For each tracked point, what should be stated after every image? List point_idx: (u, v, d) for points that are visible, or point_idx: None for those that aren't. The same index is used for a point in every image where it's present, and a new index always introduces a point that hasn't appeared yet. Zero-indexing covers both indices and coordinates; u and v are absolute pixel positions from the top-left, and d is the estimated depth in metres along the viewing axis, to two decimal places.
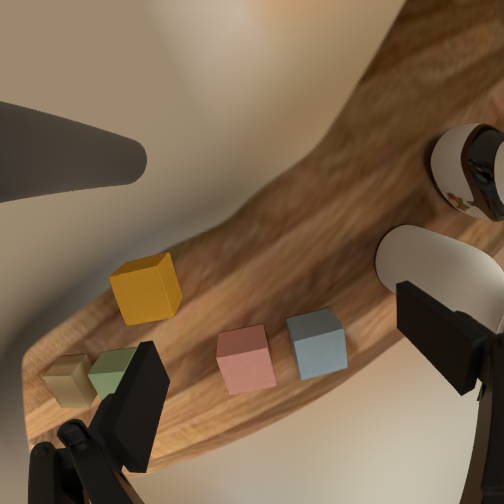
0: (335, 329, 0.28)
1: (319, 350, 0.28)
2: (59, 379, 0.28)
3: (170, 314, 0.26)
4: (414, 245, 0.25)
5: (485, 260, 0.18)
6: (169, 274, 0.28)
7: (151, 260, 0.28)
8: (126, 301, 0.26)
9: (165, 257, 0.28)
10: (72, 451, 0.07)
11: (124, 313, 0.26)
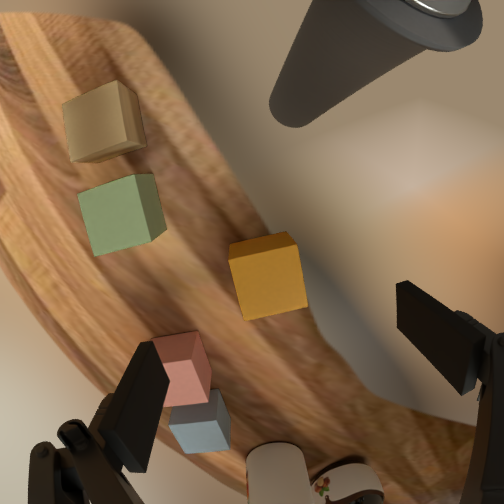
0: (228, 444, 0.26)
1: (206, 436, 0.26)
2: (116, 116, 0.18)
3: (247, 317, 0.23)
4: (304, 479, 0.27)
5: None
6: None
7: None
8: (265, 264, 0.22)
9: None
10: (72, 451, 0.07)
11: (247, 260, 0.21)
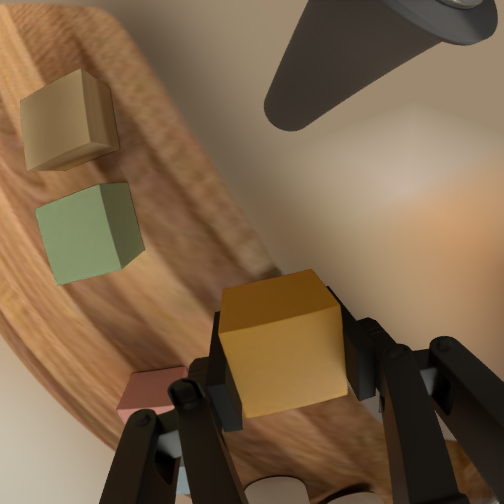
0: None
1: None
2: (78, 111, 0.14)
3: (252, 413, 0.13)
4: None
5: None
6: None
7: None
8: (283, 340, 0.12)
9: None
10: (178, 409, 0.09)
11: (252, 334, 0.12)
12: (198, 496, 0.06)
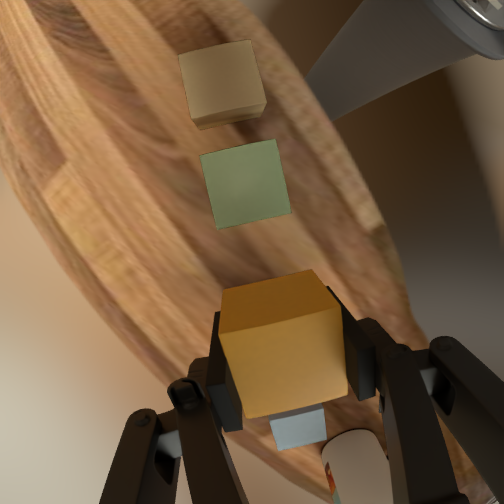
0: None
1: (307, 428, 0.25)
2: (252, 75, 0.17)
3: (252, 414, 0.13)
4: (387, 462, 0.26)
5: None
6: None
7: None
8: (283, 341, 0.12)
9: None
10: (178, 409, 0.09)
11: (252, 334, 0.12)
12: (198, 496, 0.06)
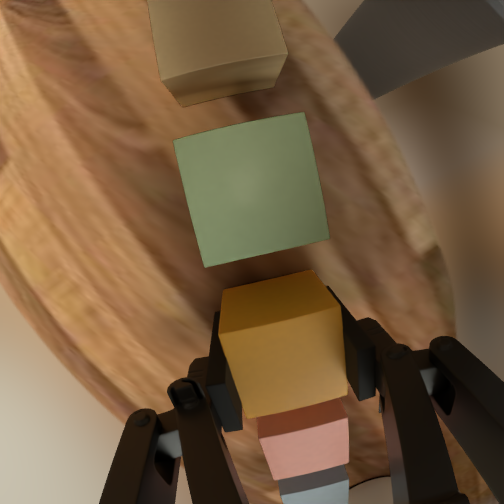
0: (348, 499, 0.17)
1: (326, 498, 0.17)
2: (264, 13, 0.09)
3: (252, 414, 0.13)
4: None
5: None
6: None
7: None
8: (283, 341, 0.12)
9: None
10: (178, 409, 0.09)
11: (252, 334, 0.12)
12: (198, 496, 0.06)
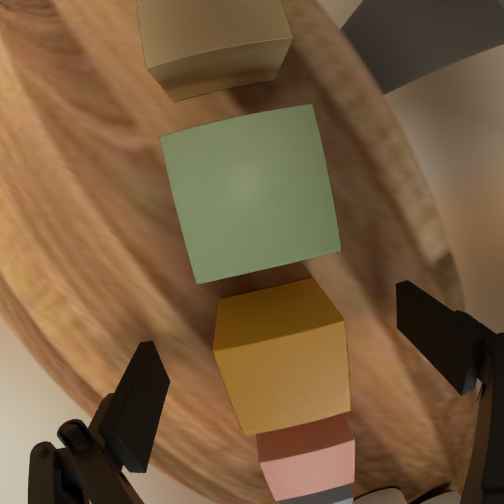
0: None
1: None
2: None
3: (250, 431, 0.12)
4: None
5: None
6: None
7: None
8: (282, 358, 0.11)
9: None
10: (72, 451, 0.07)
11: (249, 351, 0.11)
12: None
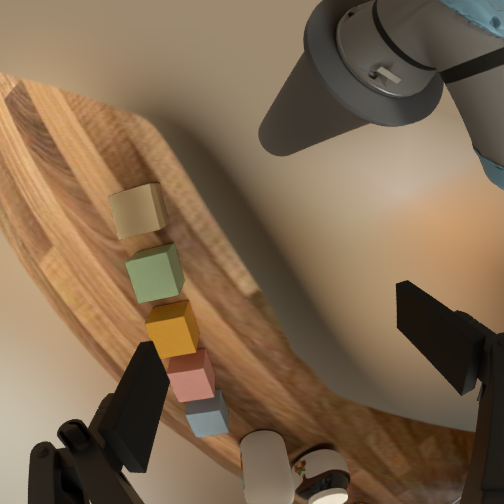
0: (227, 428, 0.38)
1: (212, 423, 0.37)
2: (151, 211, 0.30)
3: (160, 357, 0.34)
4: (284, 457, 0.39)
5: (293, 499, 0.32)
6: None
7: (195, 333, 0.37)
8: (166, 327, 0.33)
9: (197, 340, 0.38)
10: (72, 451, 0.07)
11: (155, 324, 0.33)
12: None
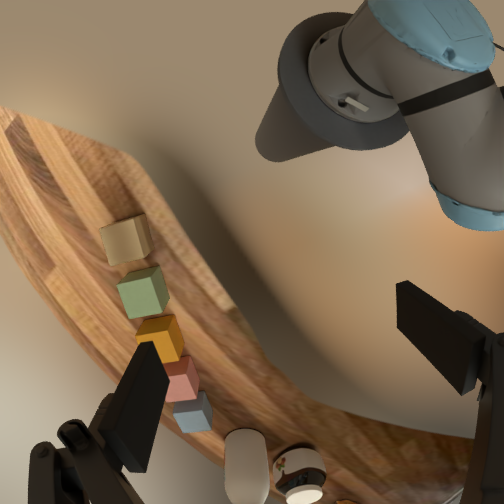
0: (210, 426, 0.43)
1: (196, 421, 0.42)
2: (136, 242, 0.35)
3: None
4: (262, 454, 0.44)
5: (267, 492, 0.37)
6: None
7: (179, 343, 0.42)
8: (152, 339, 0.38)
9: (181, 349, 0.42)
10: (72, 451, 0.07)
11: (143, 336, 0.38)
12: None
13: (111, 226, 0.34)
